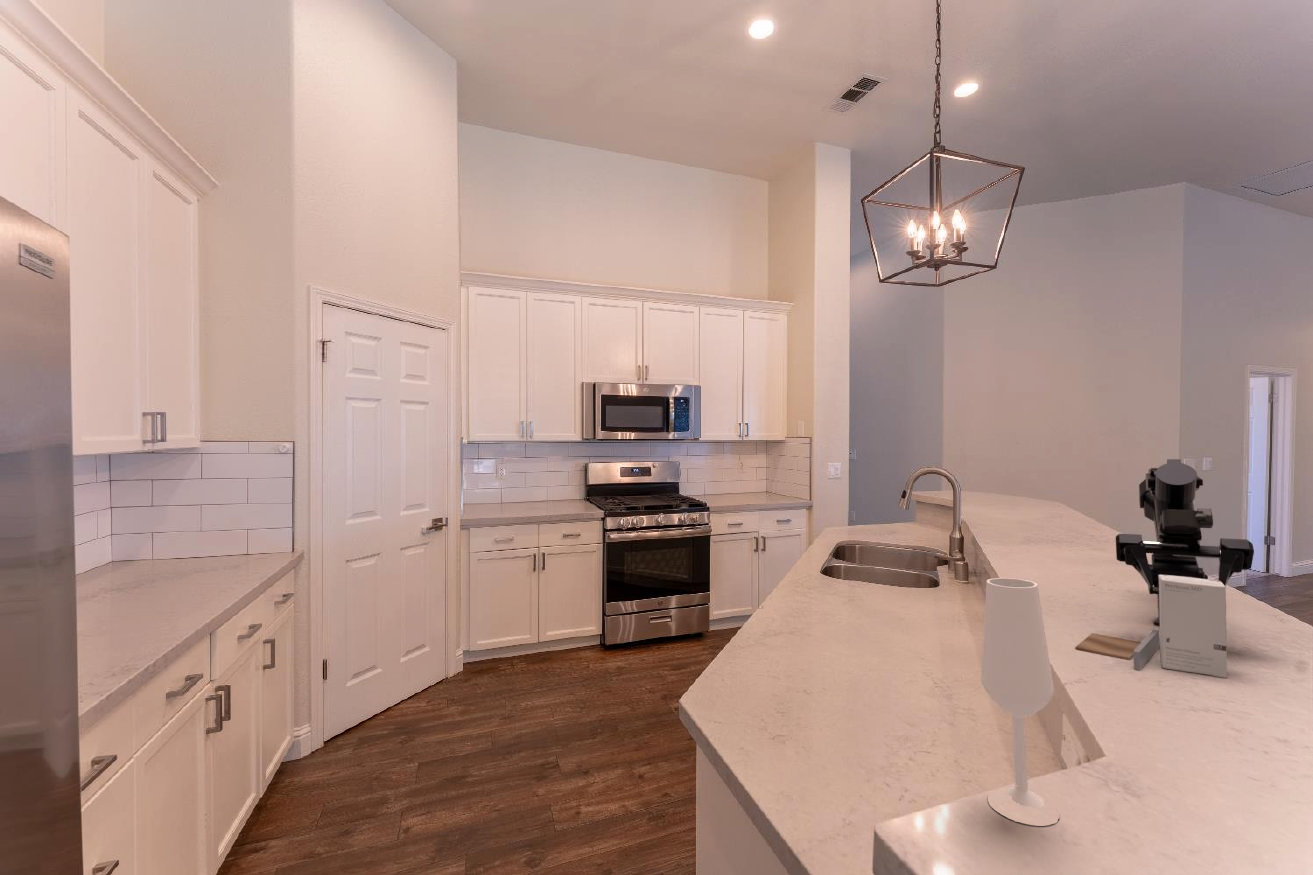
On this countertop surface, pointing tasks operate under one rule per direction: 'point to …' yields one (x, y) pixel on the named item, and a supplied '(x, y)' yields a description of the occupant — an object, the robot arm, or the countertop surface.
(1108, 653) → the walnut board
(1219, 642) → the skincare box
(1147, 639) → the low wall
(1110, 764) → the countertop surface
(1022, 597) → the champagne flute
